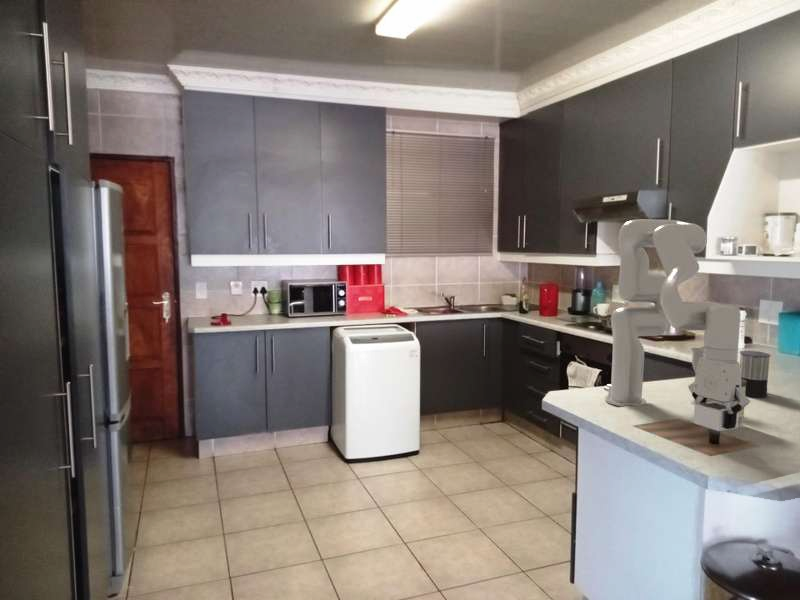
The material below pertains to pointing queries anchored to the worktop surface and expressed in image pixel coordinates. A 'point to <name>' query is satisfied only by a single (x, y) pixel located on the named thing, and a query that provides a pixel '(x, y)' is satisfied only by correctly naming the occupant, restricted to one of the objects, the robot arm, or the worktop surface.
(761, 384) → the milk frother
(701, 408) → the white hollow square box
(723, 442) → the board
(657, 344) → the worktop surface
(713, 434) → the post
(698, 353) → the chalice
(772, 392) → the worktop surface
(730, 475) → the worktop surface
